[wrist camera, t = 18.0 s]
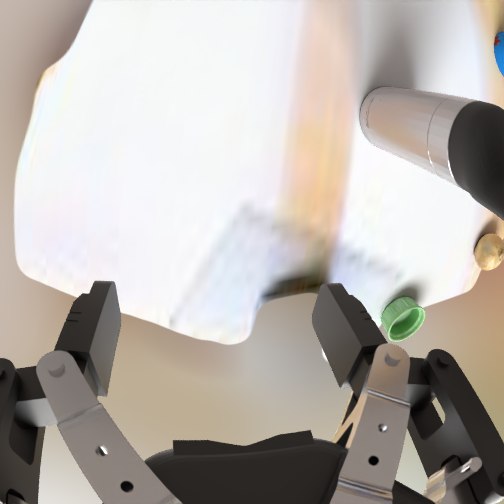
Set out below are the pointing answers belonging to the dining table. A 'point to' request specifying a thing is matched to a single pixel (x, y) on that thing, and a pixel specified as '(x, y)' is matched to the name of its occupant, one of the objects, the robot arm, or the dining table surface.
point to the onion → (489, 251)
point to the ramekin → (402, 318)
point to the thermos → (499, 51)
